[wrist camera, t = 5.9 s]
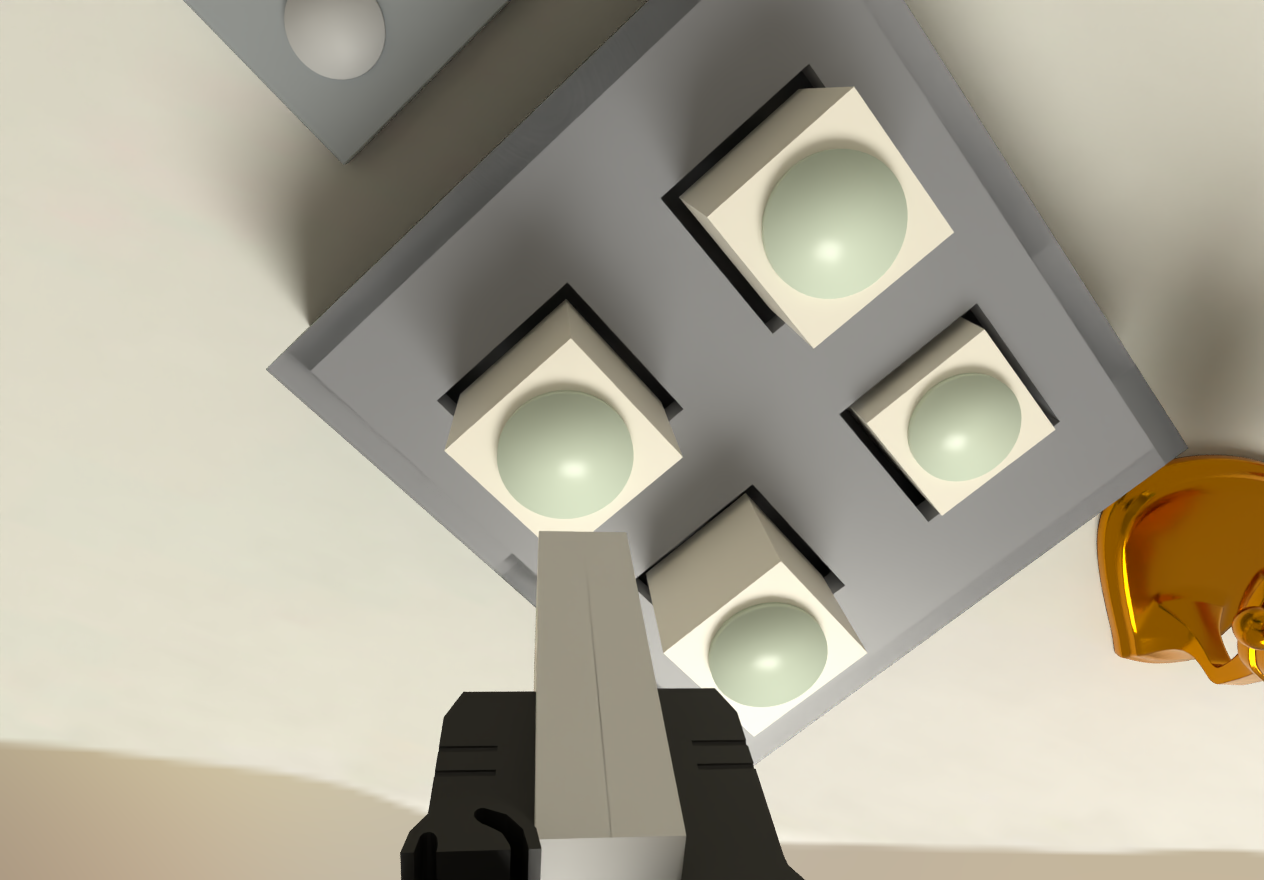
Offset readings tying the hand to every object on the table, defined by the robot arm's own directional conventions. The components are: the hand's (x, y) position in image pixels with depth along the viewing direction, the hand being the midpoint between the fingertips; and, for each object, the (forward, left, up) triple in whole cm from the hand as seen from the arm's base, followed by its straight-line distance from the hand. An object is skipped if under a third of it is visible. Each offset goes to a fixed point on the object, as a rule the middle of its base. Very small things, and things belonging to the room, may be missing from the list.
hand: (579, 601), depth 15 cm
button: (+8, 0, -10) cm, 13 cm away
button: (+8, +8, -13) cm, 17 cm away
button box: (+4, +4, -14) cm, 15 cm away
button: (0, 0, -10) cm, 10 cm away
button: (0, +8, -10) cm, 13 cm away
